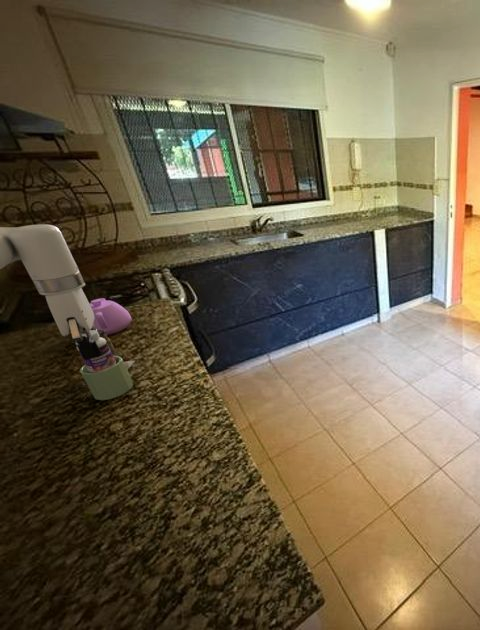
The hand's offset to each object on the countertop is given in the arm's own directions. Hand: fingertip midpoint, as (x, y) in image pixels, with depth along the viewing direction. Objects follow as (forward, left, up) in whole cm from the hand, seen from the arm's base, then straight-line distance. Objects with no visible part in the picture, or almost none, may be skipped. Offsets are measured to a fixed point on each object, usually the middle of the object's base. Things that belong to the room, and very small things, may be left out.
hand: (94, 351), depth 84 cm
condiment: (-1, +12, -12) cm, 17 cm away
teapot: (-4, +45, -12) cm, 46 cm away
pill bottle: (0, 0, -5) cm, 5 cm away
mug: (0, 0, -12) cm, 12 cm away
